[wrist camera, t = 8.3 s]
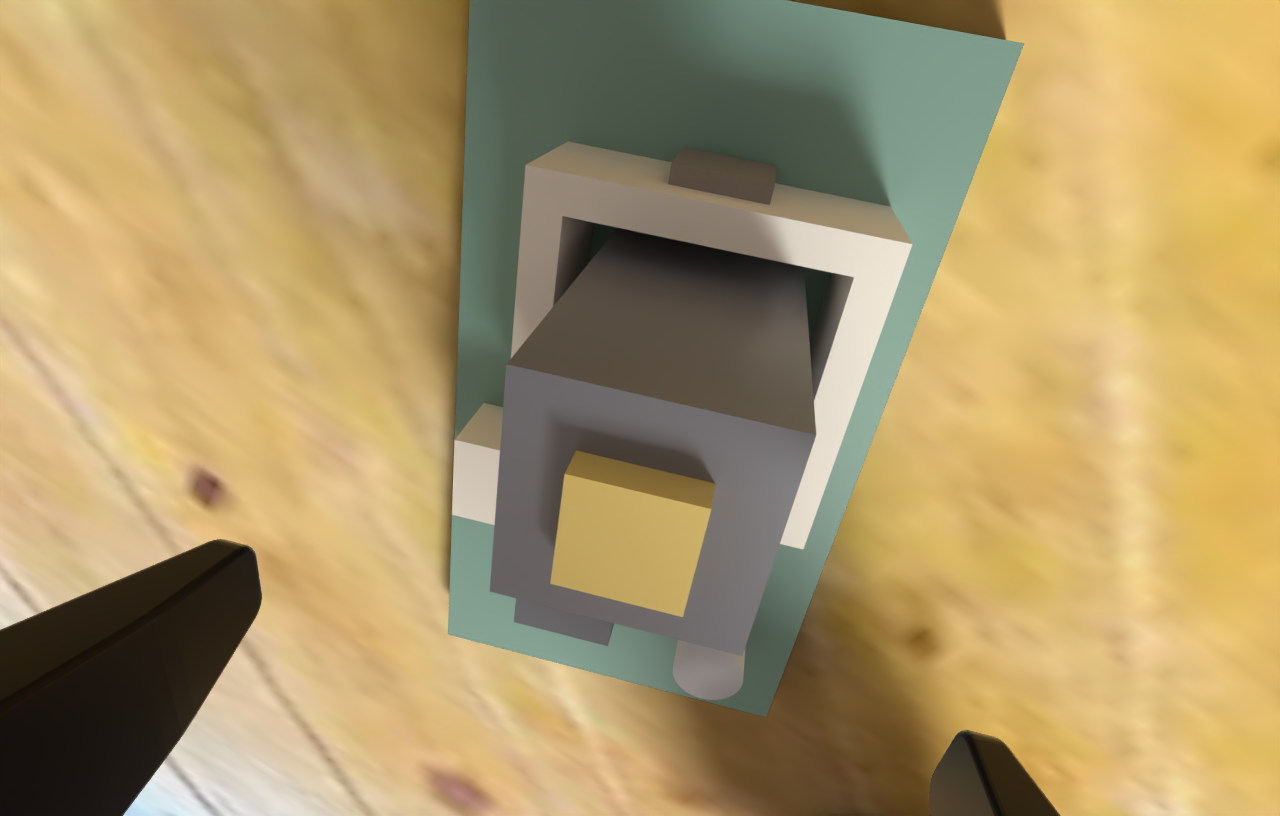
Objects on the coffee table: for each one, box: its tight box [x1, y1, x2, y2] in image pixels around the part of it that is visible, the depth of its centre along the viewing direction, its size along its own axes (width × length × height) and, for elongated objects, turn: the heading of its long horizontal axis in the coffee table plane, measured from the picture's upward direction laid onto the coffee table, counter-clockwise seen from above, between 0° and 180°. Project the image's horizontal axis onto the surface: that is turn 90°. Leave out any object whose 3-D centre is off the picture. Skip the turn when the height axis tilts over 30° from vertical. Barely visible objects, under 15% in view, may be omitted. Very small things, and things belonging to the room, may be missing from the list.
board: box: [448, 0, 1024, 717], centre depth 18 cm, size 20×11×4 cm, turn 171°
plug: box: [490, 228, 816, 656], centre depth 14 cm, size 4×4×9 cm
